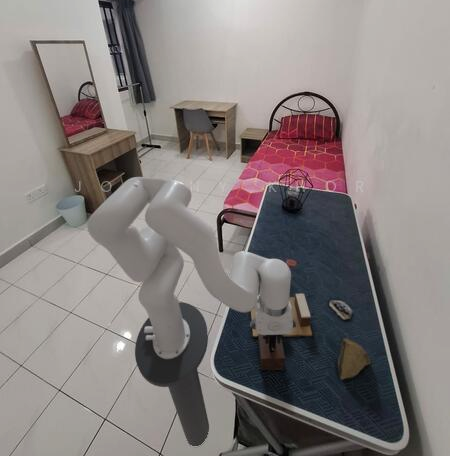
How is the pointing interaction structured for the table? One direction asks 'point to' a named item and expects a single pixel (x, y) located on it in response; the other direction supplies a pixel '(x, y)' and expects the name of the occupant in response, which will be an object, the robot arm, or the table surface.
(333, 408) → the table surface
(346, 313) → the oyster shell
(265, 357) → the knife block
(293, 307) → the board
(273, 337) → the knife
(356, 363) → the rock
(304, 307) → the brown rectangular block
